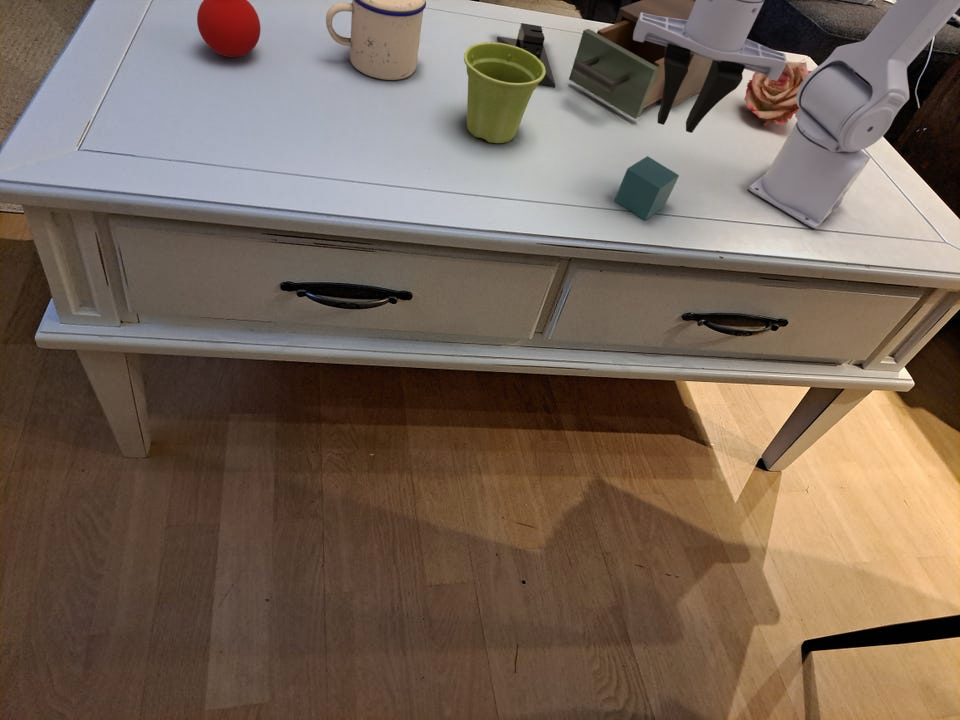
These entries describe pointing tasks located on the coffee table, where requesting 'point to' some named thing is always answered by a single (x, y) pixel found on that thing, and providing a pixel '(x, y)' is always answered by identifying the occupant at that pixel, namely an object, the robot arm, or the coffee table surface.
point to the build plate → (532, 48)
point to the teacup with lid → (382, 36)
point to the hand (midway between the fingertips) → (674, 123)
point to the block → (646, 187)
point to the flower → (776, 93)
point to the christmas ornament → (229, 26)
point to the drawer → (620, 67)
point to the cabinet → (678, 5)
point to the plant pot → (499, 88)
